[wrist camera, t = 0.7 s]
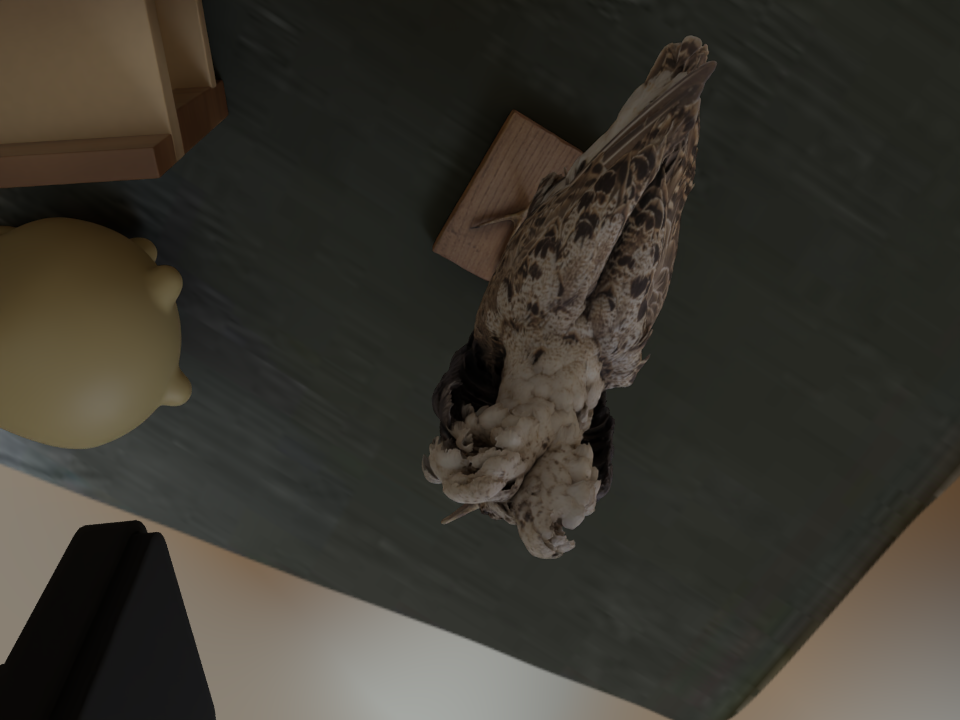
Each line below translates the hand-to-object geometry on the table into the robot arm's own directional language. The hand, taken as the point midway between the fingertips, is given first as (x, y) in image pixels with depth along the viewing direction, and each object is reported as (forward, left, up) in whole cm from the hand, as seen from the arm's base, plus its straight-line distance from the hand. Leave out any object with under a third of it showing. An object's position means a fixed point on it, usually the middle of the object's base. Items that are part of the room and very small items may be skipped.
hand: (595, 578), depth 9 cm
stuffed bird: (+6, +4, -33) cm, 34 cm away
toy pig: (+8, -18, -33) cm, 38 cm away
